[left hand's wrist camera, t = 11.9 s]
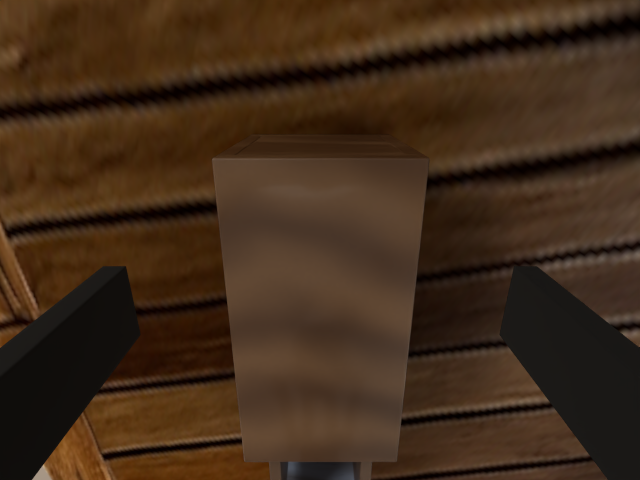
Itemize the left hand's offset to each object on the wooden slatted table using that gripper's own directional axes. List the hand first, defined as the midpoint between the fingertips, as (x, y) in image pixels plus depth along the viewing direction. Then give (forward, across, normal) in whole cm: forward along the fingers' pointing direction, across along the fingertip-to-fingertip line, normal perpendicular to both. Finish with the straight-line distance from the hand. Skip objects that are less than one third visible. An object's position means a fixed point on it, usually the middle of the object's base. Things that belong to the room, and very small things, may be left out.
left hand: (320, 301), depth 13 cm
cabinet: (+17, 0, -6) cm, 18 cm away
